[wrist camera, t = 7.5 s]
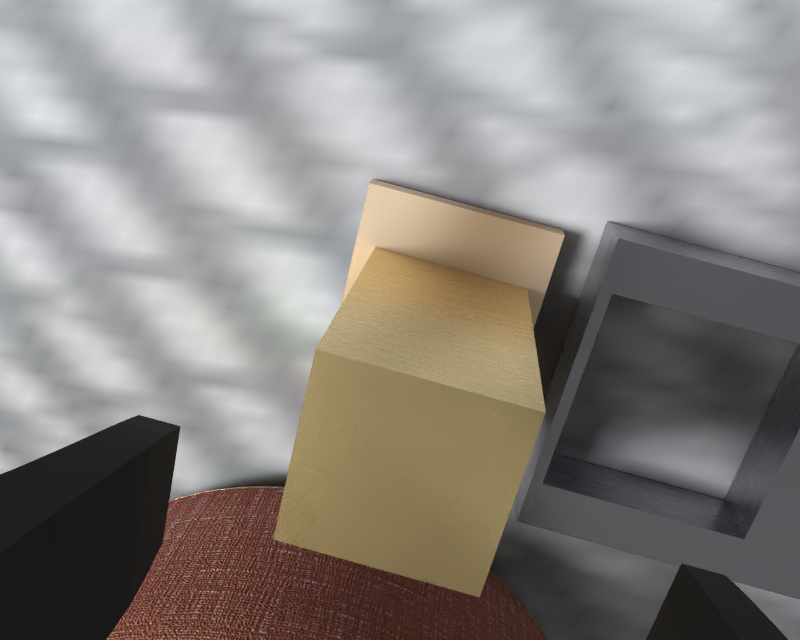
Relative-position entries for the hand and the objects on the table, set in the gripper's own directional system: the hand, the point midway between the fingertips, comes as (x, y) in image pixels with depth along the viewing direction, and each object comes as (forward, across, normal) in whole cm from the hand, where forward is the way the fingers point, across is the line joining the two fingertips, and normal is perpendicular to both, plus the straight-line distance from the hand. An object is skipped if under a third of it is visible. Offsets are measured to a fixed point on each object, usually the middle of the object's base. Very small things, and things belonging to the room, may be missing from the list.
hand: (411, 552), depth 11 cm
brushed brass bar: (+10, 0, +1) cm, 10 cm away
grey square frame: (+10, -8, +1) cm, 13 cm away
